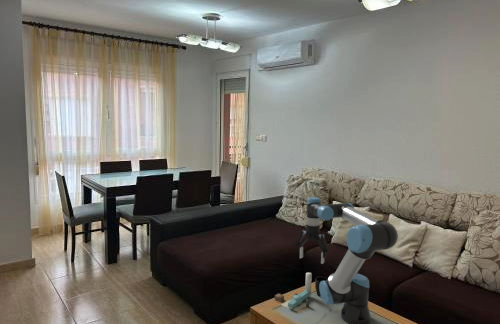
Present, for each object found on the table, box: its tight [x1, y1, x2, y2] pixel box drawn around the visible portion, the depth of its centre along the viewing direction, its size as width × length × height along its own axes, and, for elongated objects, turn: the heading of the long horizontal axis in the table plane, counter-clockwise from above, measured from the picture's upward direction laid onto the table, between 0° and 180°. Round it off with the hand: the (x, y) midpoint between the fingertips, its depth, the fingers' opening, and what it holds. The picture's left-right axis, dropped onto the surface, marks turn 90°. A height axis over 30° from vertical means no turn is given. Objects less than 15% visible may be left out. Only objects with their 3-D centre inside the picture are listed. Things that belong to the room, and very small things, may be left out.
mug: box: [314, 276, 329, 298], centre depth 216 cm, size 8×12×10 cm
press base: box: [280, 292, 313, 314], centre depth 201 cm, size 14×11×5 cm
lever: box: [288, 272, 313, 309], centre depth 203 cm, size 5×21×13 cm, turn 142°
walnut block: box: [274, 293, 285, 303], centre depth 207 cm, size 4×4×4 cm
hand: (311, 260), depth 209 cm, fingers open, 13 cm apart
